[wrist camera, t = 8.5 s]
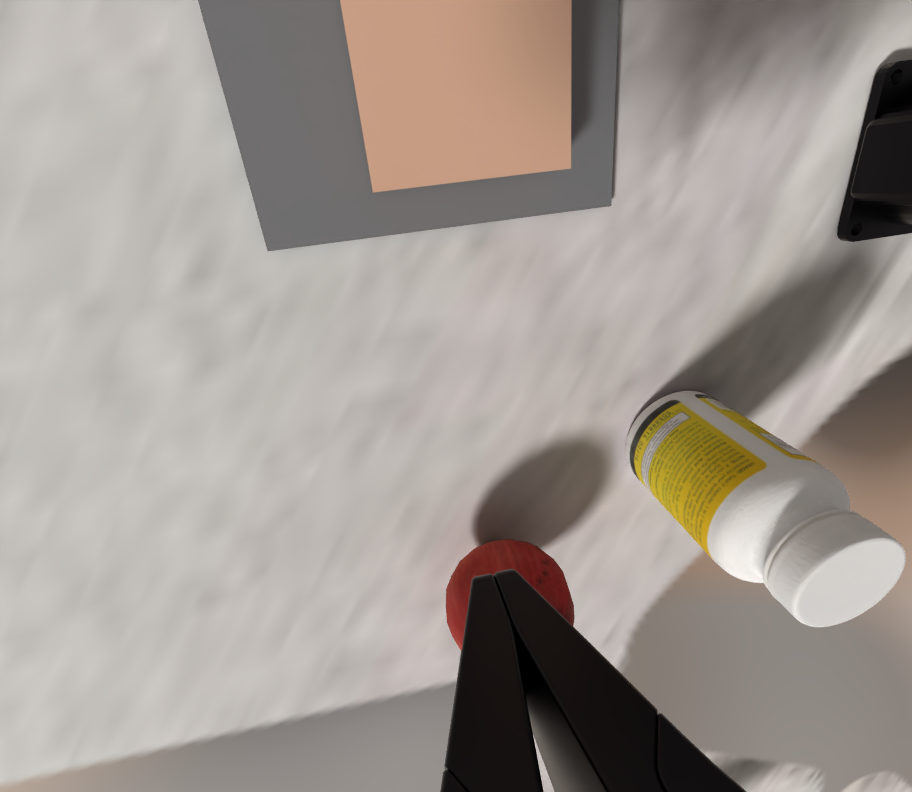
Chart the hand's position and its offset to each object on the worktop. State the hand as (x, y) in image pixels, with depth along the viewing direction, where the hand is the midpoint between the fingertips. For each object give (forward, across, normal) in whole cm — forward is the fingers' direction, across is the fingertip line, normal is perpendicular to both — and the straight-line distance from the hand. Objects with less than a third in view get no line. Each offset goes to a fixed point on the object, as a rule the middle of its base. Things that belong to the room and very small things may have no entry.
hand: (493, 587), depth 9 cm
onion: (+12, -2, +11) cm, 17 cm away
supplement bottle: (+12, -12, +6) cm, 18 cm away
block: (+10, +1, -11) cm, 15 cm away
